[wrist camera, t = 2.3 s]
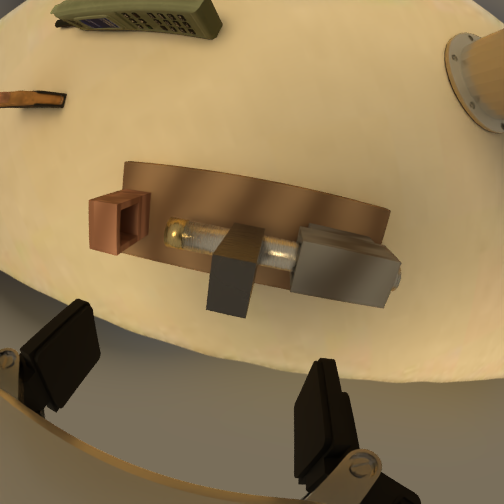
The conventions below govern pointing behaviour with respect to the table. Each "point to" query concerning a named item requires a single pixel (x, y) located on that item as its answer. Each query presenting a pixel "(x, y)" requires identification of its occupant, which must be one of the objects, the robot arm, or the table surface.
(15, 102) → the ammunition clip
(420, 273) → the table surface
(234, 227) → the tube
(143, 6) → the handheld radio
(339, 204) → the tube stand
